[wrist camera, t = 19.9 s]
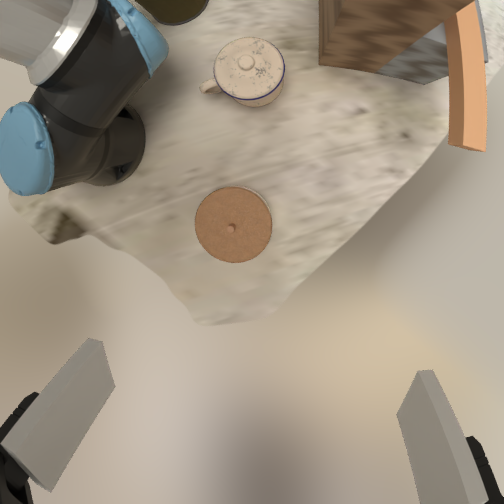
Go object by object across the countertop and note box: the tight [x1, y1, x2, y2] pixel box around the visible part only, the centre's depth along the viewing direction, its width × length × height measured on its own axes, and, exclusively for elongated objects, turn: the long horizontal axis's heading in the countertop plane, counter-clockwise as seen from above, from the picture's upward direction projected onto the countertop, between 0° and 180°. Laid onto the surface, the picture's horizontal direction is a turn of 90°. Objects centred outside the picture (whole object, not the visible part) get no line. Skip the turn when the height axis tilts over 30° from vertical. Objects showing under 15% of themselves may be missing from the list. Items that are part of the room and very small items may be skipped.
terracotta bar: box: [444, 1, 487, 152], centre depth 17 cm, size 3×30×3 cm, turn 178°
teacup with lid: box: [200, 37, 285, 107], centre depth 36 cm, size 12×9×12 cm
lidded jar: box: [195, 186, 272, 263], centre depth 44 cm, size 11×11×9 cm
